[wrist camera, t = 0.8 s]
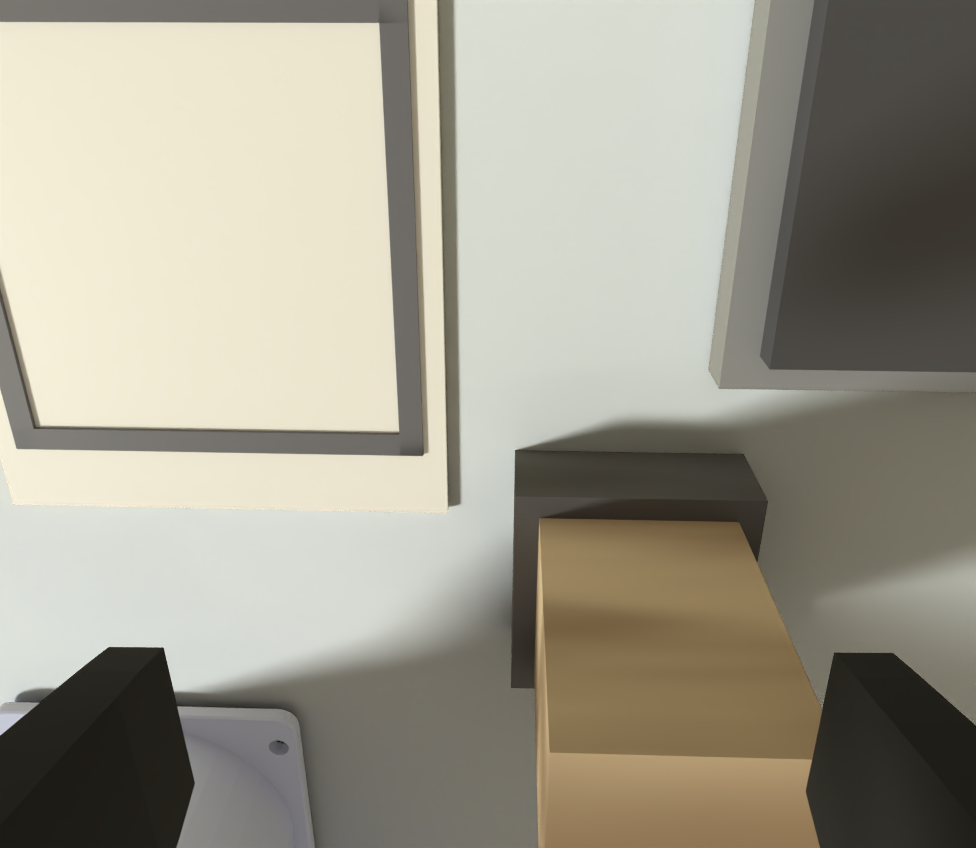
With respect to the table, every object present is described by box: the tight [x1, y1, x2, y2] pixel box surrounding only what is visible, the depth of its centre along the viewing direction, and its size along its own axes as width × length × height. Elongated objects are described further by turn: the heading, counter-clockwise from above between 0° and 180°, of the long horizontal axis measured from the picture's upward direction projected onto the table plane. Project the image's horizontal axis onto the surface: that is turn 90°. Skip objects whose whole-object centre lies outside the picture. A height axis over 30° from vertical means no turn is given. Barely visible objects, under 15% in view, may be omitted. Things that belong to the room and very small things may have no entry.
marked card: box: [0, 0, 448, 513], centre depth 16 cm, size 12×10×1 cm
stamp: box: [511, 450, 822, 848], centre depth 16 cm, size 5×5×8 cm
